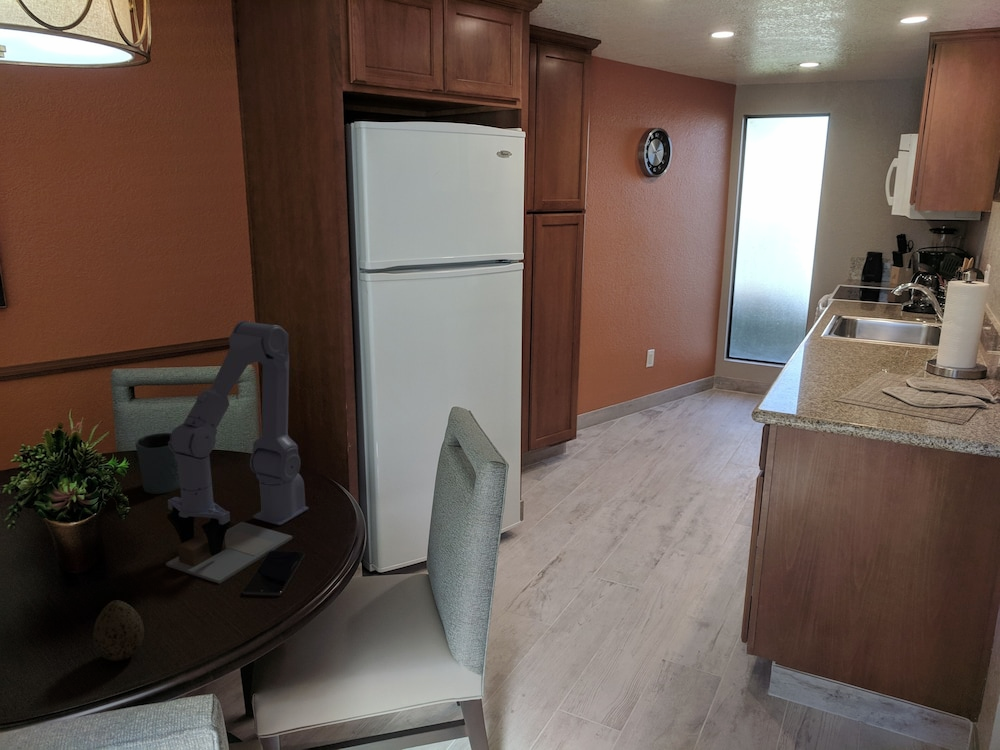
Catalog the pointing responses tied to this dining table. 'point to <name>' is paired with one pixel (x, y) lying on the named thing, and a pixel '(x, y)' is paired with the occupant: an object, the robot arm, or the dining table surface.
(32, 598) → the dining table surface
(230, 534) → the mat
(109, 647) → the decorative egg
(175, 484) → the grey pot
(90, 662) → the dining table surface
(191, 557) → the brown block
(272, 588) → the smartphone
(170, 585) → the dining table surface
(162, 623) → the dining table surface
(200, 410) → the robot arm
